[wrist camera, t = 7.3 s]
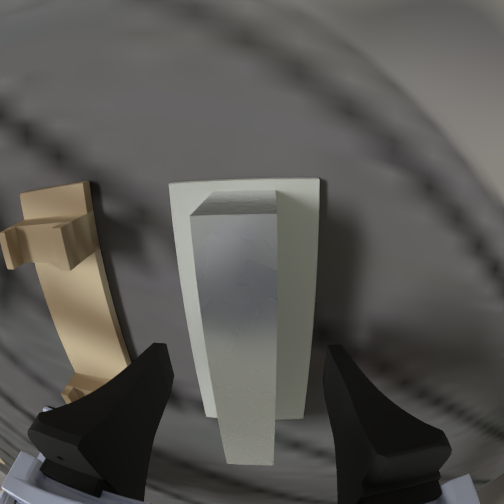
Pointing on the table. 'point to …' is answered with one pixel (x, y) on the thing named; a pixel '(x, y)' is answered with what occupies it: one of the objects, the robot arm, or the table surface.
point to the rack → (70, 281)
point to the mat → (288, 280)
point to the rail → (240, 316)
